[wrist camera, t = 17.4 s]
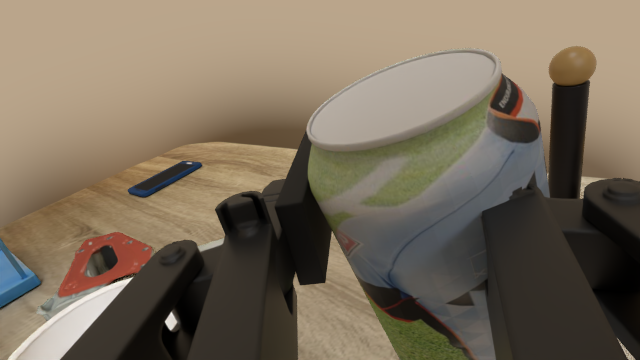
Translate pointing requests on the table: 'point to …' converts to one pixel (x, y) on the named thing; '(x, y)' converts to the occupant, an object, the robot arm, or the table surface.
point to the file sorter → (14, 276)
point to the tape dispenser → (101, 268)
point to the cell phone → (164, 178)
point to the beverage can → (425, 191)
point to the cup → (70, 326)
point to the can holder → (568, 119)
